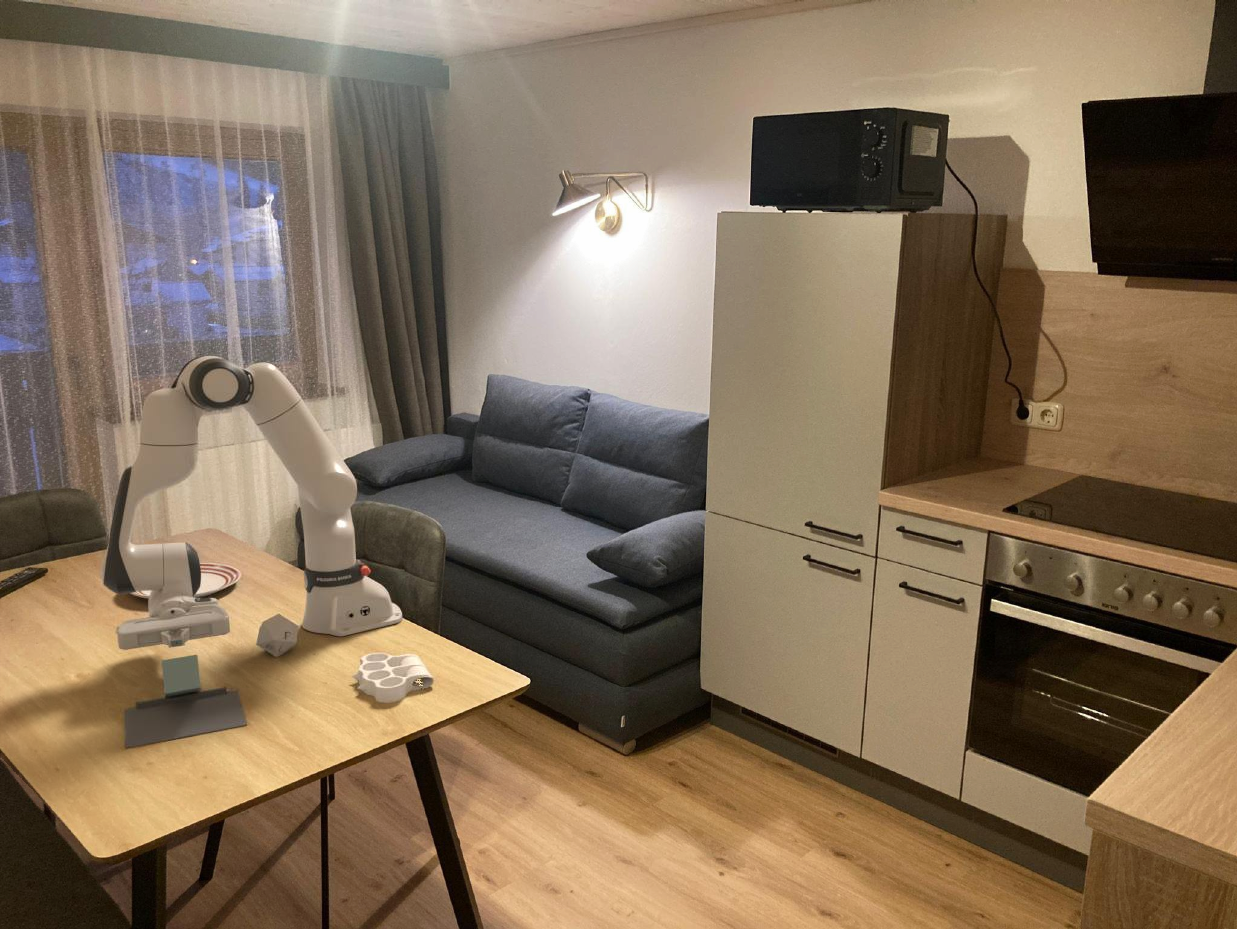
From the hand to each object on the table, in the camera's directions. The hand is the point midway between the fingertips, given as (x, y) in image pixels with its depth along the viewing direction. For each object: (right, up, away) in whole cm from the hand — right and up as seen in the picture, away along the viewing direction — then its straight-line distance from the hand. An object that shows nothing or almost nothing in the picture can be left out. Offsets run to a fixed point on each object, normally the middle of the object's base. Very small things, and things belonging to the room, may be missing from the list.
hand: (176, 642), depth 189 cm
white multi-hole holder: (+39, -10, +10) cm, 41 cm away
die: (+12, -6, +23) cm, 27 cm away
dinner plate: (-25, +2, +61) cm, 66 cm away
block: (-1, -8, +3) cm, 8 cm away
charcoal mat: (+4, -13, -6) cm, 15 cm away
